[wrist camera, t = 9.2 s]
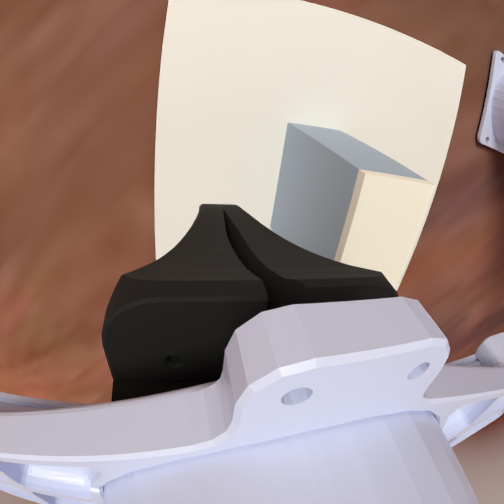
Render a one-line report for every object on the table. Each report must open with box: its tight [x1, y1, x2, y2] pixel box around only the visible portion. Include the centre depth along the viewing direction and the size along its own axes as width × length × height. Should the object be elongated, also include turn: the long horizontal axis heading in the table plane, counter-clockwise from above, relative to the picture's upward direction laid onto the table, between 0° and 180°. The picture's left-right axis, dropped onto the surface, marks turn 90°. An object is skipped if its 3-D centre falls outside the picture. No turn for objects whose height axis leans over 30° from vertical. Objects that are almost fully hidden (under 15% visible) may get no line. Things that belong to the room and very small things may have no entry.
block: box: [270, 123, 435, 289], centre depth 14 cm, size 3×6×8 cm, turn 173°
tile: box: [155, 0, 466, 291], centre depth 18 cm, size 18×18×1 cm
